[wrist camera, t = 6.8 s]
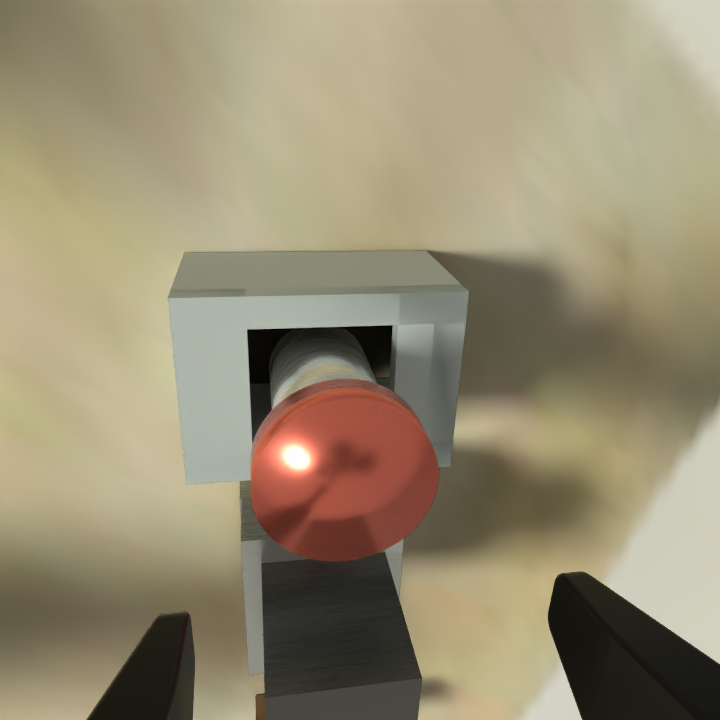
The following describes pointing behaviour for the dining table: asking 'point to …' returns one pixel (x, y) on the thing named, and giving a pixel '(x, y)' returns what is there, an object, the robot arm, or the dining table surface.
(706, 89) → the dining table surface
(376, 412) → the red plunger button
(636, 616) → the robot arm
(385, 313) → the button housing
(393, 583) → the carriage
